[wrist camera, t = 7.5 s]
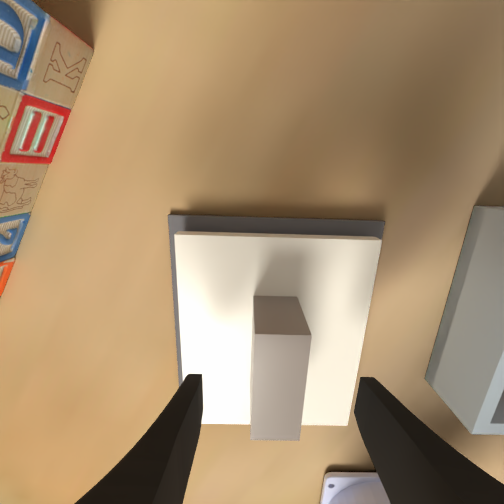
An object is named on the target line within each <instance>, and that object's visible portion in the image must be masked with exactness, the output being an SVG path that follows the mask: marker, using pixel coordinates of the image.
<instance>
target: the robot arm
mask: <svg viewBox="0 0 504 504" xmlns="http://www.w3.org/2000/svg"><path fill="white" fill-rule="evenodd" d="M354 414H355V417H356V421H357V424H358V427H359V430H360V433H361V436H362V439H363V441H364V444H365V446H366V448H367V451H368V453H369V455H370V458H371V460H372V462H373V464H374V467H375V469H376V471H377V472H328V473H327V474H326V475H325V477H324V483H323V489H322V495H321V501H320V504H504V484H502V483H501V482H499V481H498V480H496V479H495V478H493V477H492V476H490V475H489V474H487V473H486V472H485V471H483V470H482V469H480V468H479V467H478V466H476V465H475V464H474V463H472V462H471V461H470V460H468V459H467V458H466V457H464V456H463V455H462V454H460V453H459V452H458V451H456V450H455V449H454V448H453V447H451V446H450V445H449V444H448V443H446V442H445V441H444V440H443V439H441V438H440V437H439V436H438V435H437V434H435V433H434V432H433V431H432V430H431V429H430V428H428V427H427V426H426V425H425V424H424V423H423V422H421V421H420V420H419V419H418V418H417V417H416V416H415V415H414V414H413V413H411V412H410V411H409V410H408V409H407V408H406V407H405V406H404V405H403V404H402V403H401V402H400V401H399V400H397V399H396V398H395V397H394V396H393V395H392V394H391V393H390V392H389V391H388V390H387V389H386V388H385V387H384V386H383V385H382V384H381V383H379V382H378V381H377V380H376V379H375V378H374V377H360V383H359V388H358V393H357V398H356V404H355V409H354ZM202 415H203V380H202V374H188V375H187V376H186V377H185V379H184V381H183V382H182V384H181V385H180V387H179V389H178V390H177V392H176V393H175V395H174V396H173V398H172V399H171V400H170V402H169V403H168V405H167V406H166V407H165V409H164V410H163V411H162V413H161V414H160V415H159V417H158V418H157V419H156V421H155V422H154V423H153V424H152V426H151V427H150V428H149V429H148V430H147V432H146V433H145V434H144V435H143V437H142V438H141V439H140V440H139V441H138V442H137V443H136V445H135V446H134V447H133V448H132V449H131V450H130V451H129V452H128V453H127V454H126V455H125V456H124V458H123V459H122V460H121V461H120V462H119V463H118V464H117V465H116V466H115V467H114V468H113V469H112V470H111V471H110V472H109V473H108V474H107V475H106V476H105V477H104V478H103V479H101V480H100V481H99V482H98V483H97V484H96V485H95V486H94V487H93V488H92V489H91V490H89V491H88V492H87V493H86V494H85V495H84V496H83V497H82V498H80V499H79V500H78V501H77V502H76V503H75V504H183V499H184V495H185V491H186V487H187V483H188V479H189V475H190V471H191V467H192V463H193V459H194V455H195V451H196V447H197V443H198V439H199V435H200V428H201V422H202Z"/></svg>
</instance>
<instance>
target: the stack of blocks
mask: <svg viewBox="0 0 504 504" xmlns="http://www.w3.org/2000/svg"><path fill="white" fill-rule="evenodd" d="M93 51H94V50H93V49H92V48H91V47H90V46H89V45H88V44H87V43H85V42H84V41H83V40H81V39H80V38H79V37H78V36H76V35H75V34H74V33H73V32H71V31H70V30H69V29H68V28H66V27H65V26H64V25H62V24H61V23H60V22H59V21H57V20H56V19H55V18H53V17H52V16H50V15H49V14H48V13H46V12H44V11H43V10H42V9H41V8H40V7H39V6H38V5H37V4H35V3H34V2H33V1H32V0H0V296H1V295H2V292H3V290H4V288H5V285H6V282H7V280H8V277H9V275H10V272H11V270H12V267H13V264H14V262H15V257H14V256H15V254H16V252H17V250H18V247H19V244H20V241H21V239H22V236H23V234H24V231H25V228H26V226H27V223H28V220H29V218H30V212H31V210H32V208H33V206H34V203H35V201H36V198H37V195H38V192H39V190H40V187H41V184H42V181H43V179H44V176H45V174H46V171H47V168H48V165H49V164H50V163H51V162H52V159H53V157H54V154H55V152H56V149H57V146H58V144H59V141H60V138H61V136H62V133H63V130H64V128H65V125H66V123H67V120H68V117H69V114H70V112H71V109H72V107H73V105H74V103H75V100H76V98H77V95H78V93H79V90H80V87H81V85H82V82H83V80H84V77H85V74H86V72H87V69H88V66H89V64H90V61H91V59H92V56H93Z"/></svg>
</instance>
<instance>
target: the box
mask: <svg viewBox="0 0 504 504" xmlns="http://www.w3.org/2000/svg"><path fill="white" fill-rule="evenodd" d="M425 380H426V381H427V382H428V383H429V385H430V386H431V387H432V388H433V389H434V390H435V392H436V393H437V394H438V395H439V396H440V398H441V399H442V400H443V401H444V402H445V404H446V405H447V406H448V407H449V408H450V410H451V411H452V412H453V413H454V414H455V415H456V417H457V418H458V419H459V420H460V421H461V423H462V424H463V425H464V426H465V427H466V429H467V430H468V431H469V432H470V433H471V434H488V435H504V207H503V206H474V208H473V212H472V215H471V219H470V222H469V226H468V229H467V233H466V236H465V240H464V243H463V247H462V250H461V254H460V257H459V261H458V264H457V268H456V271H455V275H454V278H453V282H452V285H451V289H450V292H449V296H448V299H447V303H446V306H445V310H444V313H443V317H442V320H441V324H440V327H439V331H438V334H437V338H436V341H435V345H434V348H433V352H432V355H431V359H430V362H429V366H428V369H427V372H426V376H425Z"/></svg>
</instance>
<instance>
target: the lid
mask: <svg viewBox="0 0 504 504" xmlns="http://www.w3.org/2000/svg"><path fill="white" fill-rule="evenodd" d="M174 239H175V256H176V273H177V289H178V306H179V323H180V340H181V357H182V374H183V381H184V379H185V377H186V376H187V375H188V374H202V380H203V415H202V422H201V424H250V440H290V441H299V440H300V432H301V425H340V426H347V425H348V420H349V414H350V409H351V404H352V398H353V393H354V388H355V382H356V377H357V372H358V366H359V361H360V356H361V350H362V345H363V340H364V335H365V329H366V324H367V319H368V313H369V308H370V303H371V297H372V292H373V287H374V281H375V276H376V271H377V265H378V260H379V255H380V249H381V244H382V240H380V239H379V238H377V237H371V236H336V235H301V234H265V233H230V232H195V231H178V232H177V233H175V234H174Z"/></svg>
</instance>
